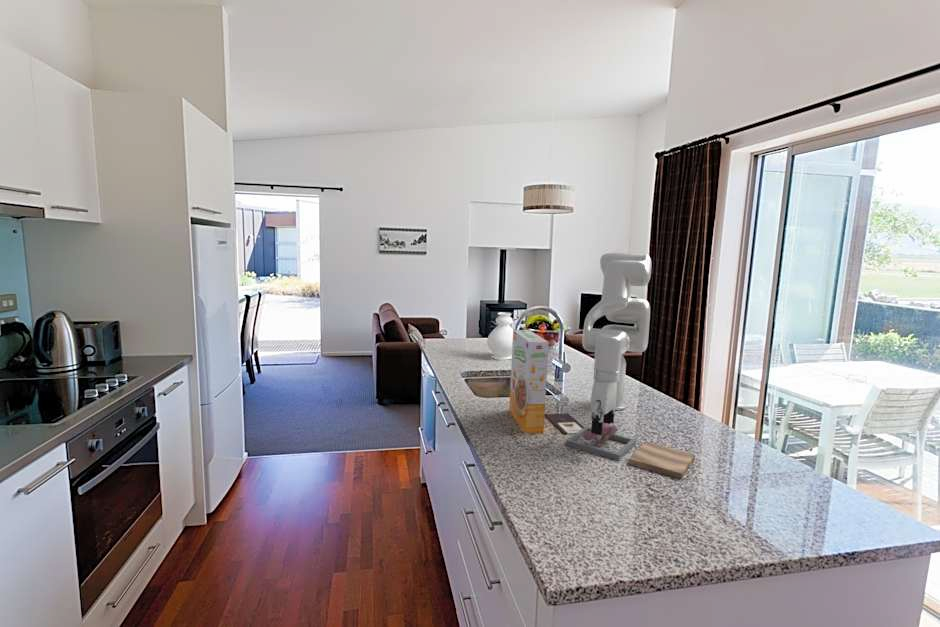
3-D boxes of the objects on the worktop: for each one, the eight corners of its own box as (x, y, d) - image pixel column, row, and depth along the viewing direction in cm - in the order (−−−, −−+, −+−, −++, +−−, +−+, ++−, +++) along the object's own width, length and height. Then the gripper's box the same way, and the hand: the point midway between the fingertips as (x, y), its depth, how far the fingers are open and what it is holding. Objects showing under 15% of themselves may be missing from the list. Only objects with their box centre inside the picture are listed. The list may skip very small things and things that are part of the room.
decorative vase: (502, 353, 275) (504, 310, 271) (525, 359, 261) (527, 314, 258) (479, 356, 263) (481, 312, 260) (502, 363, 250) (504, 316, 246)
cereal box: (509, 410, 174) (513, 330, 170) (525, 410, 175) (529, 330, 171) (524, 433, 152) (529, 341, 148) (543, 433, 153) (548, 342, 149)
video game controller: (589, 448, 144) (598, 432, 141) (580, 436, 148) (589, 421, 144) (613, 442, 149) (622, 427, 145) (604, 431, 152) (613, 416, 148)
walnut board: (645, 446, 146) (645, 441, 145) (694, 459, 137) (695, 454, 137) (628, 463, 133) (628, 458, 133) (681, 479, 125) (682, 473, 124)
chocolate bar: (568, 413, 172) (589, 431, 154) (567, 415, 172) (589, 434, 154) (544, 414, 170) (563, 433, 153) (544, 416, 170) (563, 435, 153)
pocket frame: (585, 430, 157) (586, 426, 156) (635, 444, 147) (636, 439, 147) (565, 444, 144) (566, 440, 144) (618, 460, 135) (619, 455, 134)
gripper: (604, 367, 152) (601, 418, 155) (583, 378, 138) (579, 434, 141) (628, 371, 148) (624, 424, 150) (608, 383, 134) (603, 441, 136)
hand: (602, 429), depth 146 cm, fingers closed on video game controller, 9 cm apart
